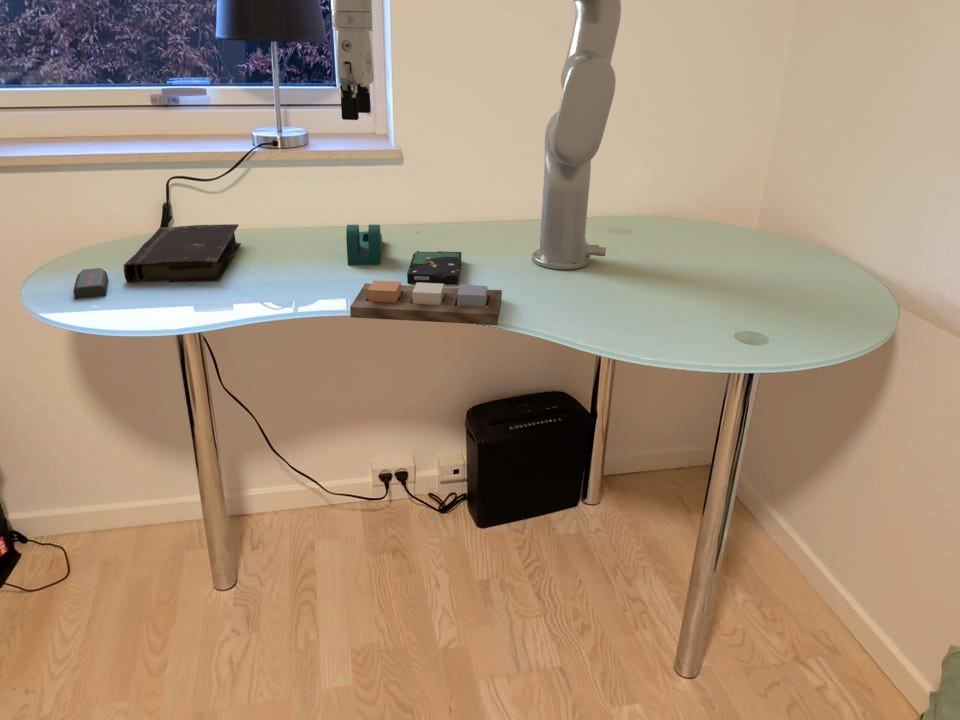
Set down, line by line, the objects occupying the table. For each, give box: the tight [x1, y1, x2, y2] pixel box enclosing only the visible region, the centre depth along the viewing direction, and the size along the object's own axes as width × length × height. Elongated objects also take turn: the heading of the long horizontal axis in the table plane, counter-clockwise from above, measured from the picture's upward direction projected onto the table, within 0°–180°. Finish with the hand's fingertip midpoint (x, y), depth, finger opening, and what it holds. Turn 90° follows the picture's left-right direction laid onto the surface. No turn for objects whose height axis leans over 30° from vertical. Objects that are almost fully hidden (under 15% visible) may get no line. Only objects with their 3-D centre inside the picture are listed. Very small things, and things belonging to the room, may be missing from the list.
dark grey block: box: [73, 267, 110, 300], centre depth 143 cm, size 5×12×3 cm, turn 21°
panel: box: [349, 282, 503, 326], centre depth 136 cm, size 26×12×2 cm, turn 85°
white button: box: [412, 282, 445, 305], centre depth 136 cm, size 5×5×3 cm
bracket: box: [345, 224, 383, 266], centre depth 164 cm, size 18×7×8 cm, turn 5°
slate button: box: [457, 284, 488, 307], centre depth 135 cm, size 5×5×3 cm
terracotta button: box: [368, 279, 402, 303], centre depth 136 cm, size 5×5×3 cm
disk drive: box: [406, 250, 462, 286], centre depth 154 cm, size 10×3×15 cm
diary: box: [123, 223, 242, 284], centre depth 156 cm, size 19×25×5 cm
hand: (356, 116), depth 150 cm, fingers open, 9 cm apart
